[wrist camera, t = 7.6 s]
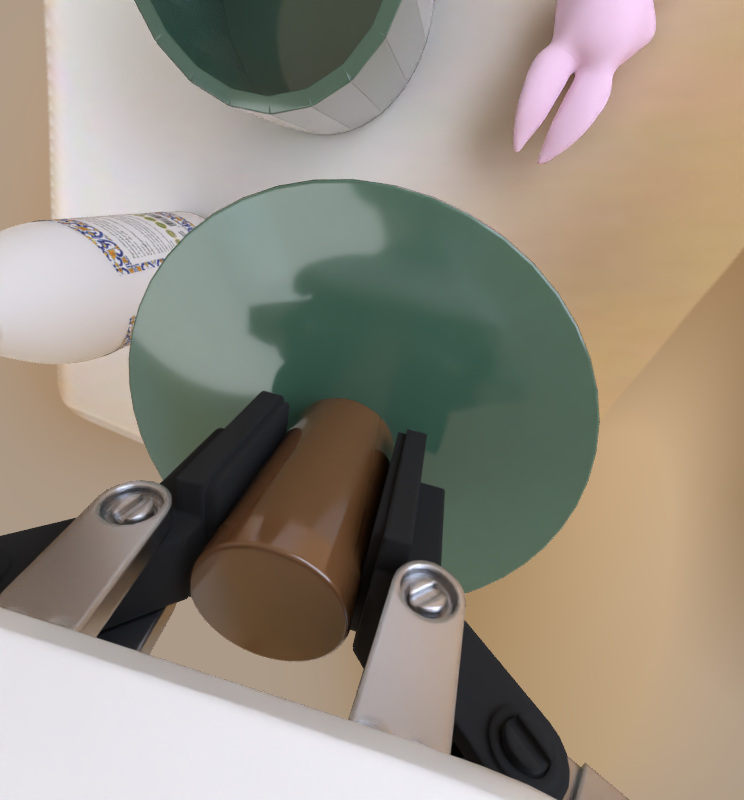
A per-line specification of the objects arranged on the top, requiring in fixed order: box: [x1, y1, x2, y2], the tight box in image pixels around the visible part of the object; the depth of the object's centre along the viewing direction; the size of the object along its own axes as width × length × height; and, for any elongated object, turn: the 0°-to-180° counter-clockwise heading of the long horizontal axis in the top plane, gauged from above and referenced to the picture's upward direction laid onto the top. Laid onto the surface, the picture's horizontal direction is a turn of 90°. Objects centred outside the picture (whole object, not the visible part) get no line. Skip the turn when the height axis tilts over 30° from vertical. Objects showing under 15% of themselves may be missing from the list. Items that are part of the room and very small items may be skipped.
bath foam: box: [0, 211, 205, 364], centre depth 23 cm, size 7×7×20 cm
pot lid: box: [129, 179, 600, 662], centre depth 10 cm, size 14×14×7 cm
